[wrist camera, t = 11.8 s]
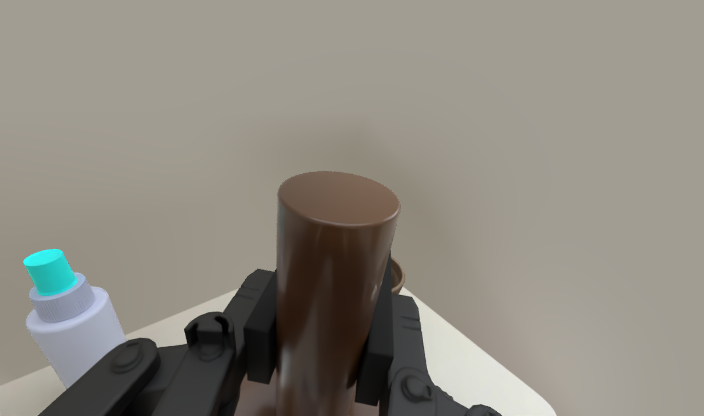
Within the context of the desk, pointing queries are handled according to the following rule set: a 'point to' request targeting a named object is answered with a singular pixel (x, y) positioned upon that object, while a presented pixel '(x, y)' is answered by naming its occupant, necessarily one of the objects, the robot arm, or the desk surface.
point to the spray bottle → (69, 316)
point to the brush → (324, 293)
